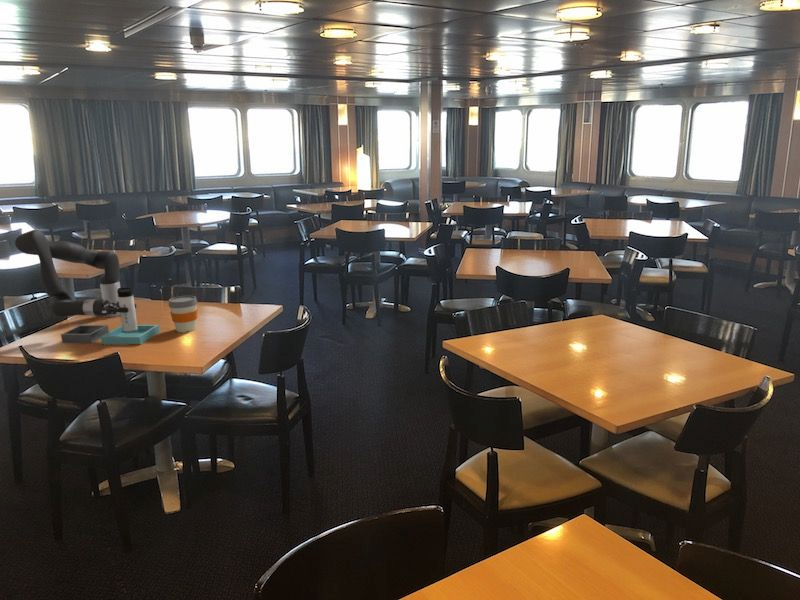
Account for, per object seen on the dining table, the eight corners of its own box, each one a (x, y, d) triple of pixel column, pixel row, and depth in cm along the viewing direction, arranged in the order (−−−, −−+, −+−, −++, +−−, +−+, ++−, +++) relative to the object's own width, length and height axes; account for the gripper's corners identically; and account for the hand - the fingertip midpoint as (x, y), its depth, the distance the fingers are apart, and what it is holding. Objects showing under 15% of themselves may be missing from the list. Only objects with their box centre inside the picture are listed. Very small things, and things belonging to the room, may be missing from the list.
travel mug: (131, 328, 284) (125, 286, 279) (140, 330, 281) (135, 287, 276) (119, 332, 279) (113, 289, 274) (128, 334, 276) (122, 290, 271)
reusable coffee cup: (191, 334, 284) (187, 302, 280) (166, 333, 287) (162, 302, 283) (205, 326, 296) (201, 295, 292) (181, 325, 299) (177, 295, 295)
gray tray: (81, 333, 291) (79, 325, 290) (109, 333, 289) (107, 325, 288) (62, 342, 277) (60, 334, 276) (91, 343, 276) (90, 334, 275)
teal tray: (123, 332, 291) (122, 324, 290) (160, 332, 289) (159, 324, 288) (101, 344, 273) (100, 337, 273) (140, 344, 272) (139, 337, 271)
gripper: (86, 303, 271) (122, 304, 269) (104, 295, 285) (139, 295, 283) (88, 320, 273) (124, 320, 271) (106, 311, 287) (141, 311, 285)
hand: (131, 308), depth 277 cm, fingers closed on travel mug, 6 cm apart
